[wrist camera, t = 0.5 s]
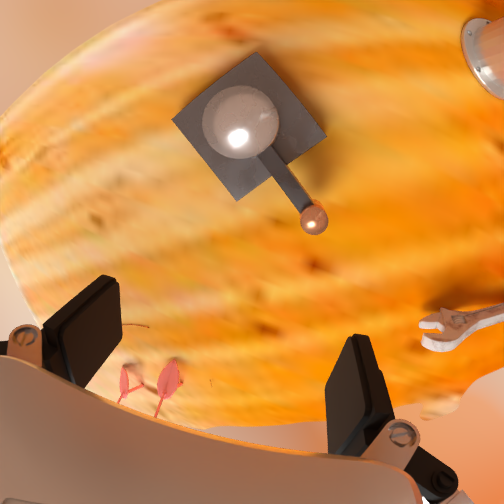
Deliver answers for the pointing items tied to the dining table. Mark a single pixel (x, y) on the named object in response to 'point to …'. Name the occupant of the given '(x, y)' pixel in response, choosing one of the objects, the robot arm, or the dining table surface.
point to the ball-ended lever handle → (257, 144)
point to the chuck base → (286, 144)
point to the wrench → (457, 326)
